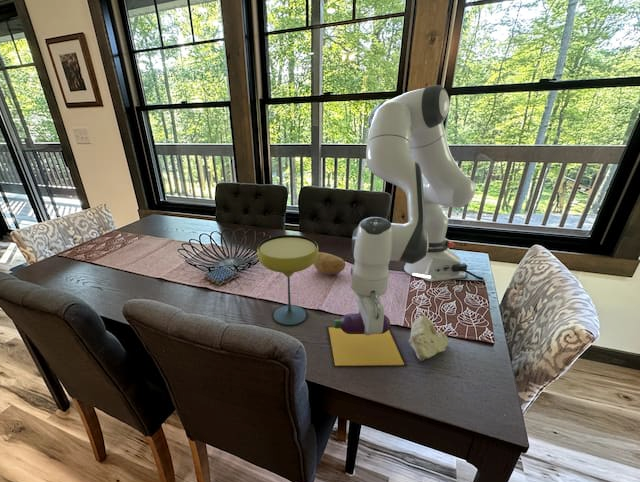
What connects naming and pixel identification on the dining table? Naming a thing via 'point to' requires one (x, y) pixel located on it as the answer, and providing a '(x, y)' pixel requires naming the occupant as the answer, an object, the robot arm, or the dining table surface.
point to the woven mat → (221, 275)
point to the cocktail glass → (288, 267)
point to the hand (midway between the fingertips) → (364, 325)
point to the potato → (329, 263)
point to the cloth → (363, 349)
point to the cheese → (426, 339)
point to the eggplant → (356, 324)
